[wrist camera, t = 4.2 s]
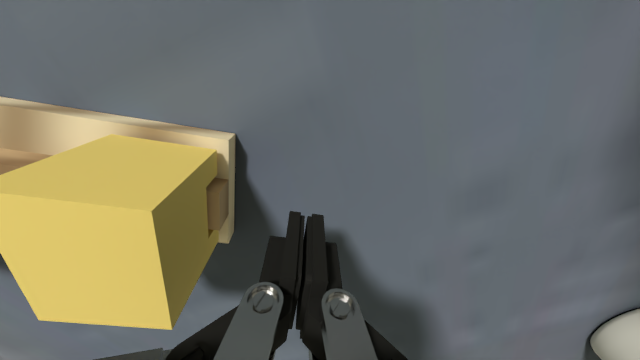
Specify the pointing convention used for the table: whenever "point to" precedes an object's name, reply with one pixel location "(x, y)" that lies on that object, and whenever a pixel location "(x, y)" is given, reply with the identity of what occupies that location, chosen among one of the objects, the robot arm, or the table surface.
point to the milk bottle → (618, 338)
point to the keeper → (109, 230)
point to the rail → (85, 126)
